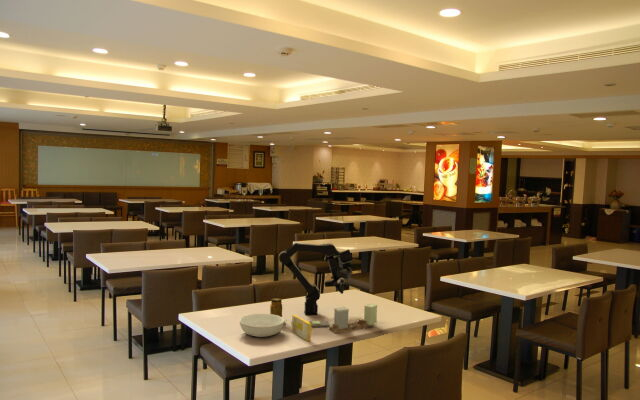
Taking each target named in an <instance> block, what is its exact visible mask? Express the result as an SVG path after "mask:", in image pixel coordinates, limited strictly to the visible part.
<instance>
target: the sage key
mask: <svg viewBox="0 0 640 400" xmlns="http://www.w3.org/2000/svg"><path fill="white" fill-rule="evenodd" d="M363 308H364V313H363V314H364V316H363V320H364V321H367V325H371V326H373V325H375V324H377V322H378V321H377V317H378V315H377V314H378V304H376V303H370V302H369V303H366V304H365V305H363Z"/></svg>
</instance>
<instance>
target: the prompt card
mask: <svg viewBox="0 0 640 400" xmlns="http://www.w3.org/2000/svg"><path fill="white" fill-rule="evenodd" d="M308 322H310V323H311V329H313V328H329V327H330V326H331V324H330V323H329V321H328V320H313V321H312V320H311V321H308Z"/></svg>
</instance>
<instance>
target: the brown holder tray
mask: <svg viewBox="0 0 640 400" xmlns="http://www.w3.org/2000/svg"><path fill="white" fill-rule="evenodd" d="M331 324H332V325H330V327H328V330H329V331H331V332H333V334H341V333H348V332H351V331H352V330H353V331H354V330H358V329H364V330H365V329H367V328H369V327H371V326H372V325H367V321H364V318H363V319H362V318H361V319H358V320H357V321H355V322H348V328H345V329H338V326H337V325H335V324H334V323H331Z"/></svg>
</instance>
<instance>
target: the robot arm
mask: <svg viewBox="0 0 640 400" xmlns="http://www.w3.org/2000/svg"><path fill="white" fill-rule="evenodd" d="M297 252H311V253H321V254H324V255H325V257H324V259H323V260H324V262H326V261H327V262H328V265H329V269H328V272H330V273H331V276H330V279H328V280H326V281H325V282H324V287H325V288H330V287H334V288H335V289H337V291H338V292H339V293H340V295H341V294H342V295H343V294H344V290H345V289H344V288H345V286H344V285H345V283H346V281H347V280H349V278H351V277H352V275H353V269H352V267H347V268H346V269H344V267H343V266H342V265H341V263H342V264H343V265H345V264H347V263H351V262H353V261H354V260H353V255H352V253H351V251H350V249H346V250H342V251H339V250H338V249H337V247H336V246H335V245H334V244H333V243H322V244H311V243H301V242H300V243H299V242H294V243H293V244H292V245H291V246H289V247H288V248H287V249H285V250H283V251H281V252H280V253H278V255H279V256H278V259H279V262H280V263H281V264H282V265H283V266H285V267H286V268H288V269H289V270H290V272H291V273H292V275H294V276H295V278H296V279H297V280H298V281H299V283H300V284H301V285H302V287H304V289H305V291H306V293H307V294H306V295H305V297H304V299H305V301H304V311H303V313H304V316H317V315H318V311H319V307H318V306H319V305H318V303H317V302H318V300H319V299H320V298H321V294H320V289H319V287H318V286H317V285H316V284H315V283H311V282H310V281H309V280H308V278H306V276H305V275H304V274H303V272H302V271H301V270H300V269H299V267H298V266H297V265H296V264H295V262H294V260H293V258H292V257H293V256H294V255H295V254H296V253H297Z"/></svg>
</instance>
